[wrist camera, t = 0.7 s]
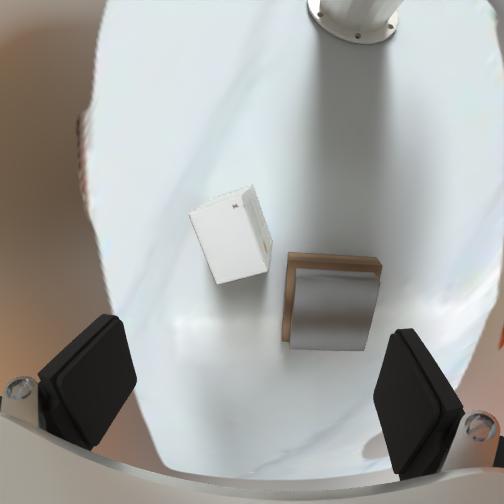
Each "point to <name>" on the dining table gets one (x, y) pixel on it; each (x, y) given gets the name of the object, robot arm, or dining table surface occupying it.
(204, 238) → the small box
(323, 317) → the tower base
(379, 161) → the dining table surface
